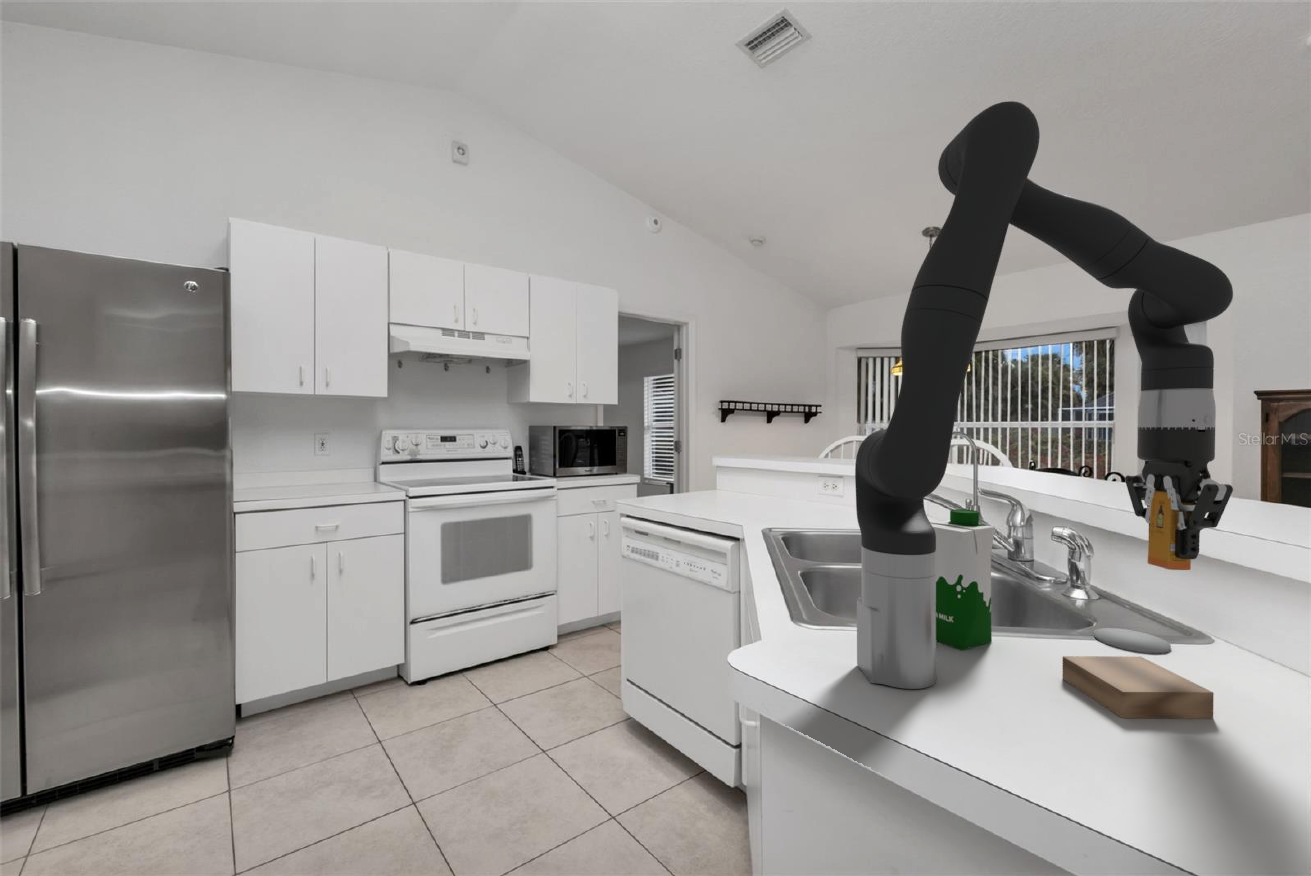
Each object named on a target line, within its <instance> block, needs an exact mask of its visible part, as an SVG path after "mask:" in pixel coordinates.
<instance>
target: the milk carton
mask: <svg viewBox="0 0 1311 876" xmlns="http://www.w3.org/2000/svg"><path fill="white" fill-rule="evenodd" d="M929 522H930V523H931V525H932V526H933V528H934V530H935V533H936V642H939V643H942V644H944V645H948V646H949V647H950V646H951V647H953V648H955V649H958V650H960V651H965V650H968V649H972V648H975V647H979V646H981V645H982V646H983V645H985V644H988V643H992V642H993V641H992V640H993V639H992V637H993V636H992V634H993V633H992V552H993V550H992V549H993V544H994V534H995V529H996V528H995V526H991V525H988V524H982V523H980V512H979V511H977V510H972V509H961V508H960V509H959V508H958V509H954V508H953V509H950V511H949V519H948V520H946V519H945V520H940V521H939V520H938V521H929Z"/></svg>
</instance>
